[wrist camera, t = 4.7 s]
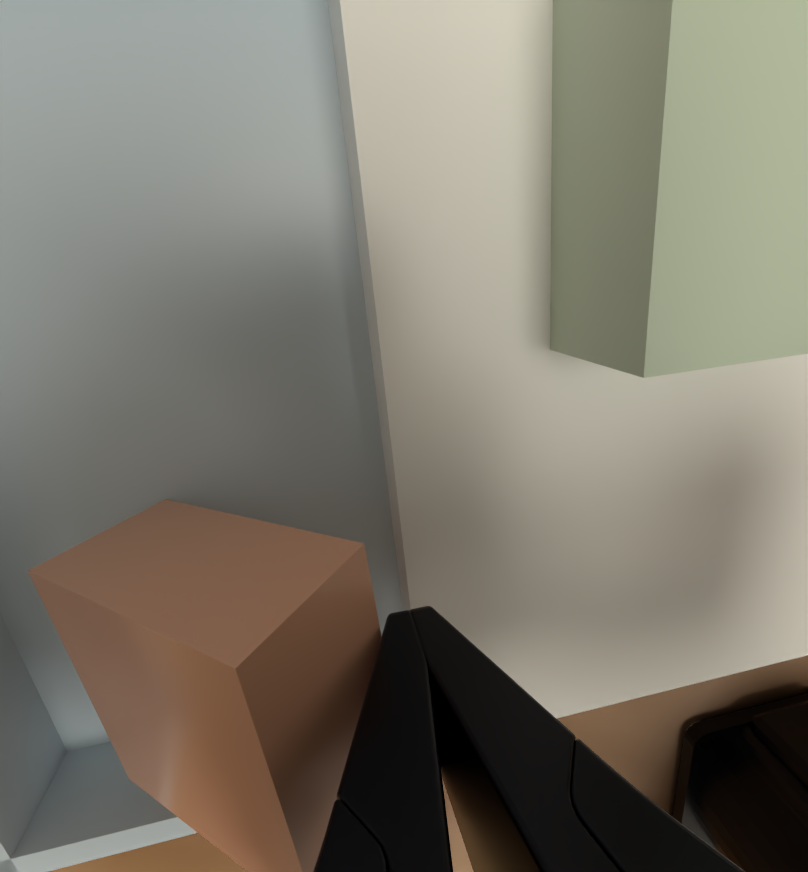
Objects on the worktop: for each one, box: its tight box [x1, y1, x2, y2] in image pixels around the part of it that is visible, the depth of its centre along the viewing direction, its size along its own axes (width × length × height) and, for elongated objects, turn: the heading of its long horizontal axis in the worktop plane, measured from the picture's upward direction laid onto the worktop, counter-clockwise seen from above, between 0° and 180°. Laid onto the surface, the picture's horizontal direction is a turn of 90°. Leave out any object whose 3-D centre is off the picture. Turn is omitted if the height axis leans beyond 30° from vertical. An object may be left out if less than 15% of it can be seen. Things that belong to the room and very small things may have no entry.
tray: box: [0, 0, 403, 872], centre depth 8 cm, size 16×9×2 cm, turn 6°
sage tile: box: [550, 0, 808, 378], centre depth 7 cm, size 5×5×2 cm
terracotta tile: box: [28, 499, 382, 872], centre depth 8 cm, size 5×5×2 cm
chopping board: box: [328, 0, 808, 718], centre depth 10 cm, size 16×11×2 cm
